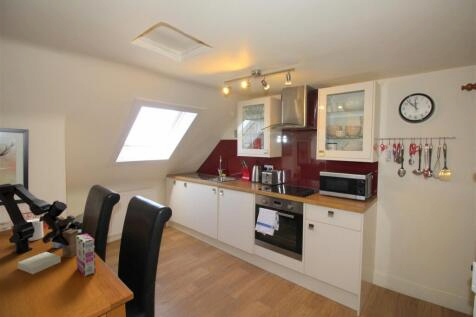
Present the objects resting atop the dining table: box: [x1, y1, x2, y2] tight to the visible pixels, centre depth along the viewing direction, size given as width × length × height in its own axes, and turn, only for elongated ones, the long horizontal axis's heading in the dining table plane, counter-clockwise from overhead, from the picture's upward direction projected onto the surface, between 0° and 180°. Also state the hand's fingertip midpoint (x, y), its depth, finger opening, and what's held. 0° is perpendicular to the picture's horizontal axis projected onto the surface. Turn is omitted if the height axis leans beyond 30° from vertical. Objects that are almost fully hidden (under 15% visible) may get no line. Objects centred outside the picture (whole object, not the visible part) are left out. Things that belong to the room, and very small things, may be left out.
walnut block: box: [61, 229, 79, 258], centre depth 127 cm, size 5×5×13 cm
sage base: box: [17, 251, 62, 275], centre depth 117 cm, size 12×12×3 cm
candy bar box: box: [76, 233, 96, 277], centre depth 112 cm, size 11×5×16 cm, turn 49°
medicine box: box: [50, 238, 63, 249], centre depth 139 cm, size 8×4×9 cm, turn 168°
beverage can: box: [26, 217, 44, 242], centre depth 147 cm, size 8×8×12 cm
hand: (72, 243), depth 127 cm, fingers closed on walnut block, 5 cm apart
